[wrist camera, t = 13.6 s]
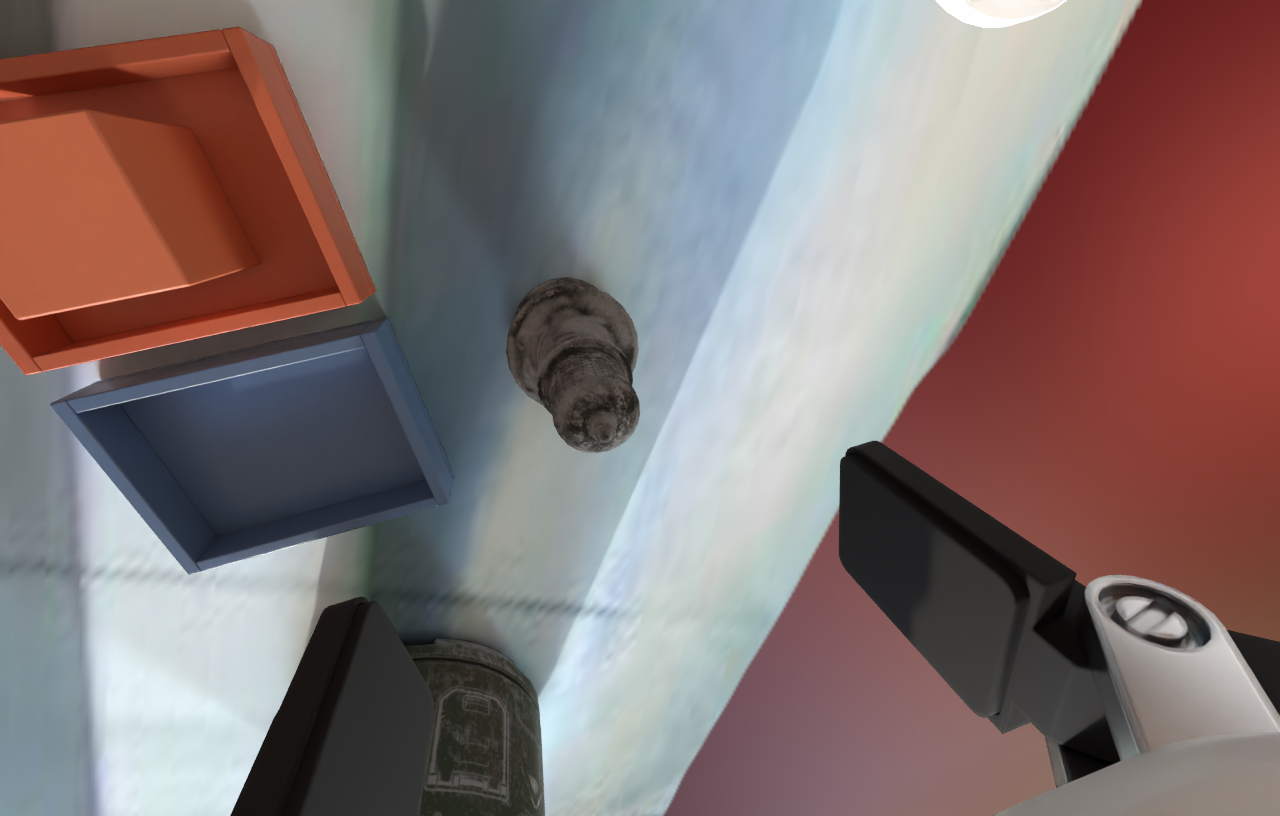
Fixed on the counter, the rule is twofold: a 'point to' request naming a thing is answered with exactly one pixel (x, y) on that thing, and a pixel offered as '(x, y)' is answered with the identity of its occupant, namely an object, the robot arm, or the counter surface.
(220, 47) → the terracotta tray
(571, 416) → the dark chess piece
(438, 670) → the canister
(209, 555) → the blue tray
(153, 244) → the terracotta block
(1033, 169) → the counter surface
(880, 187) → the counter surface
